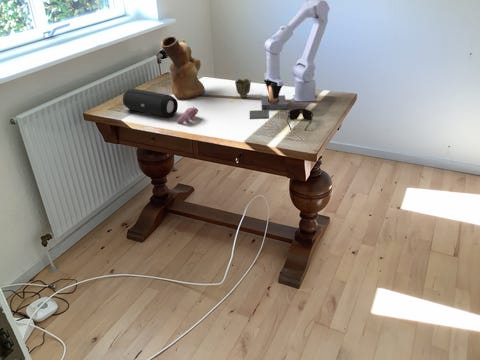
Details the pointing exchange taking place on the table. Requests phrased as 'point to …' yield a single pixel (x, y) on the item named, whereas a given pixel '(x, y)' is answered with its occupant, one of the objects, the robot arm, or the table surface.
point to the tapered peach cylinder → (271, 95)
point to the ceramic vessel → (183, 69)
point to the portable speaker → (150, 102)
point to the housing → (273, 103)
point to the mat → (258, 114)
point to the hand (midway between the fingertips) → (273, 96)
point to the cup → (243, 87)
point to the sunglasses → (296, 112)
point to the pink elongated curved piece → (187, 115)
